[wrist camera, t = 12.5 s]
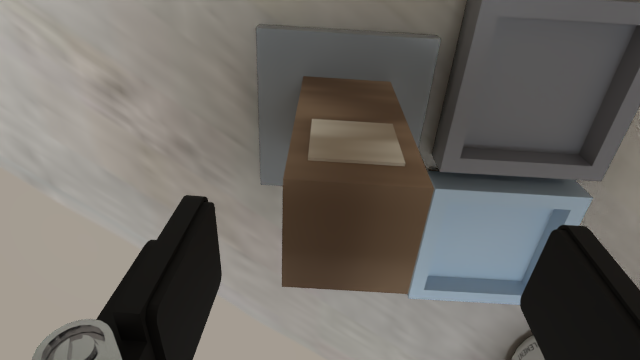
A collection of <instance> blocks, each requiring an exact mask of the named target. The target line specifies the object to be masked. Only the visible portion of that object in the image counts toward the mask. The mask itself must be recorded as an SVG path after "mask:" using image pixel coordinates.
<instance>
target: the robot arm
mask: <svg viewBox="0 0 640 360" xmlns="http://www.w3.org/2000/svg"><path fill="white" fill-rule="evenodd" d="M221 275H222V273H221V262H220V253H219V244H218V234H217V225H216V216H215V207H214V203H212V202H208V199H207V197H202V196H189V195H186V196H184V197H183V199H182V200H181V202H180V204H179V205H178V207H177V208H176V210H175V212H174V213H173V215H172V216H171V218H170V220H169V221H168V223H167V224H166V226H165V227H164V229H163V231H162V232H161V234H160V235H159V237H158V239H157V240H150V241H148V242H147V243H146V245H145V246H144V247H143V249H142V250H141V252H140V253H139V255H138V257H137V258H136V259H135V261H134V263H133V264H132V266H131V267H130V269H129V270H128V272H127V273H126V275H125V276H124V278H123V280H122V281H121V283H120V284H119V286H118V287H117V289H116V290H115V292H114V293H113V295H112V296H111V298H110V299H109V301H108V302H107V304H106V305H105V307H104V309H103V310H102V311H101V313H100V315H99V316H98V318H97V319H96V320H95V319H85V320H78V321H75V322H71V323H69V324H66V325H64V326H62V327H60V328H59V329H57V330H55V331H54V332H53V333H51V334H50V335H49V336H47V337H46V338H45V339H44V340H43V341H42V343H41V344H40V345H39V346H38V347H37V349H36V351H35V353H34V356H33V358H32V360H193V357H194V354H195V352H196V349H197V346H198V343H199V341H200V338H201V335H202V332H203V330H204V326H205V324H206V322H207V319H208V316H209V313H210V310H211V308H212V305H213V302H214V300H215V297H216V294H217V291H218V289H219V286H220V282H221ZM520 305H521V309H522V312H523V314H524V316H525V318H526V320H527V323H528V325H529V327H530V329H531V331H532V333H533V335H534V337H535V340H536V342H537V344H538V346H539V348H540V350H541V352H542V355H543V357H544V359H545V360H640V290H639V289H638V288H637V286H636V285H635V284H634V283H633V282H632V280H631V279H630V278H629V277H628V276H627V274H626V273H625V272H624V271H623V269H622V268H621V267H620V266H619V265H618V263H617V262H616V261H615V260H614V259H613V257H612V256H611V255H610V254H609V253H608V251H607V250H606V249H605V248H604V247H603V245H602V244H601V243H600V242H599V241H598V239H597V238H596V237H595V236H594V234H593V233H592V232H591V231H590V230H589V229H588V228H587V227H584V226H574V225H561V226H559V227H558V229H555V230H553V231H552V232H551V233H550V235H549V238H548V240H547V242H546V244H545V246H544V248H543V250H542V253H541V255H540V257H539V259H538V261H537V263H536V266H535V268H534V270H533V272H532V274H531V276H530V278H529V281H528V283H527V285H526V287H525V289H524V291H523V293H522V296H521V299H520Z"/></svg>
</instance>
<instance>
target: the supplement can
mask: <svg viewBox="0 0 640 360" xmlns="http://www.w3.org/2000/svg"><path fill="white" fill-rule="evenodd" d="M512 360H545V359H544V357H543V355H542V352H541V350H540V348H539V346H538V344H537V342H536V340H535V337H534V335H532V336H530V337H529V338H527V339H526V340H525V341H524V342H523V343H522V344H521V345H520V346H519V347H518V348H517V349H516V352H515V354H514V355H513V357H512Z"/></svg>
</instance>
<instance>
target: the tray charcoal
mask: <svg viewBox="0 0 640 360" xmlns="http://www.w3.org/2000/svg"><path fill="white" fill-rule="evenodd" d="M639 106H640V0H467V4H466V8H465V13H464V17H463V21H462V26H461V30H460V34H459V39H458V43H457V47H456V52H455V56H454V60H453V65H452V69H451V73H450V78H449V82H448V86H447V91H446V95H445V99H444V104H443V108H442V112H441V117H440V121H439V125H438V130H437V134H436V139H435V143H434V147H433V152H432V156H433V158H434V160H435V162H436V165H437V167H438V169H439V171H440V172H452V173H469V174H486V175H503V176H520V177H537V178H554V179H571V180H588V181H602V179H603V177H604V175H605V173H606V171H607V169H608V168H609V166H610V164H611V162H612V160H613V158H614V156H615V154H616V152H617V150H618V148H619V146H620V144H621V142H622V140H623V138H624V136H625V134H626V132H627V130H628V128H629V126H630V124H631V122H632V120H633V118H634V116H635V114H636V112H637V110H638V108H639Z"/></svg>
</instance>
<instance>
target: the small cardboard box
mask: <svg viewBox="0 0 640 360" xmlns="http://www.w3.org/2000/svg"><path fill="white" fill-rule="evenodd" d="M433 191H434V187H433V185H432V182H431V180H430V177H429V175H428V172H427V170H426V167H425V165H424V162H423V160H422V158H421V155H420V153H419V150H418V148H417V145H416V143H415V140H414V138H413V136H412V133H411V131H410V128H409V126H408V123H407V121H406V118H405V116H404V114H403V111H402V109H401V106H400V104H399V101H398V99H397V96H396V94H395V92H394V89H393V87H392V84H391V82H387V81H371V80H356V79H340V78H324V77H309V76H303V81H302V86H301V91H300V96H299V101H298V106H297V111H296V116H295V121H294V126H293V131H292V136H291V141H290V146H289V151H288V156H287V161H286V166H285V171H284V176H283V228H282V287H299V288H316V289H333V290H350V291H367V292H384V293H401V294H408V291H409V287H410V283H411V279H412V275H413V271H414V267H415V263H416V259H417V255H418V251H419V247H420V243H421V239H422V235H423V231H424V227H425V223H426V219H427V215H428V211H429V207H430V203H431V199H432V195H433Z"/></svg>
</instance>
